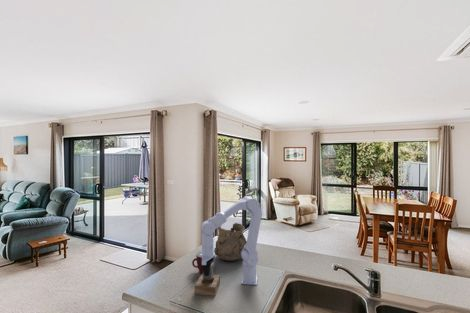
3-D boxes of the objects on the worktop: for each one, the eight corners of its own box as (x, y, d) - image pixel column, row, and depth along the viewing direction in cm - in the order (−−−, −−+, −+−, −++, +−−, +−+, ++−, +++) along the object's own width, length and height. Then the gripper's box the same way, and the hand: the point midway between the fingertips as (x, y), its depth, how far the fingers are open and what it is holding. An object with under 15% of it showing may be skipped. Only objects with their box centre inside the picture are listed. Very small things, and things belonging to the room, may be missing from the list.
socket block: (201, 282, 122) (201, 274, 122) (219, 283, 120) (219, 275, 120) (194, 294, 111) (194, 285, 111) (215, 295, 109) (215, 287, 110)
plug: (205, 275, 118) (205, 261, 118) (212, 275, 117) (212, 261, 117) (203, 279, 114) (202, 264, 114) (210, 279, 113) (210, 265, 113)
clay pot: (237, 269, 136) (237, 232, 136) (205, 260, 148) (205, 226, 148) (255, 254, 157) (255, 222, 158) (226, 247, 169) (226, 218, 169)
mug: (191, 275, 128) (190, 257, 128) (193, 269, 136) (193, 251, 137) (210, 275, 129) (210, 257, 129) (211, 268, 137) (210, 251, 137)
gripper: (203, 240, 124) (203, 266, 123) (195, 251, 109) (195, 280, 109) (216, 241, 123) (216, 266, 122) (210, 251, 108) (210, 281, 108)
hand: (207, 273), depth 116 cm, fingers closed on plug, 4 cm apart
